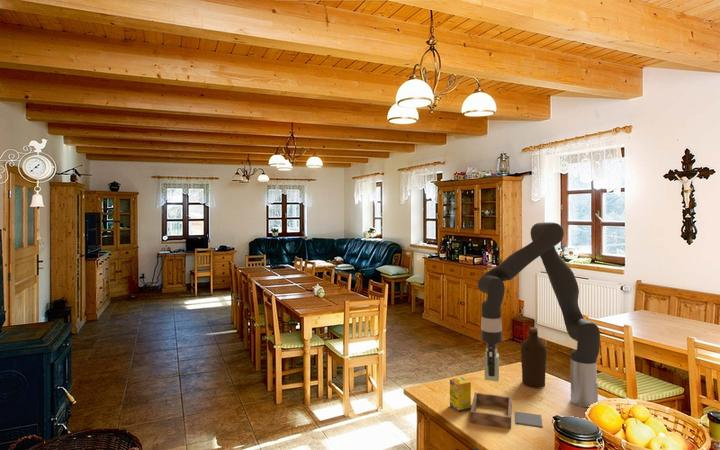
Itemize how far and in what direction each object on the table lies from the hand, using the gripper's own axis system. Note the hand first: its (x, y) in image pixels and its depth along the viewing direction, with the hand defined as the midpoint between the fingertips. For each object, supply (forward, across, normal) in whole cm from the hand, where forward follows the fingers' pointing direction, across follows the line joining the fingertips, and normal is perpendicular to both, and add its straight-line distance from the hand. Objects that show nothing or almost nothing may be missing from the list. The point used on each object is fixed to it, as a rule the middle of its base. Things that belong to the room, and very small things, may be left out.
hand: (491, 373), depth 164 cm
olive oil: (+16, +36, -16) cm, 43 cm away
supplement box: (+16, +2, +12) cm, 20 cm away
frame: (+16, 0, 0) cm, 16 cm away
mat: (+16, 0, -13) cm, 20 cm away
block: (+2, 0, 0) cm, 2 cm away
